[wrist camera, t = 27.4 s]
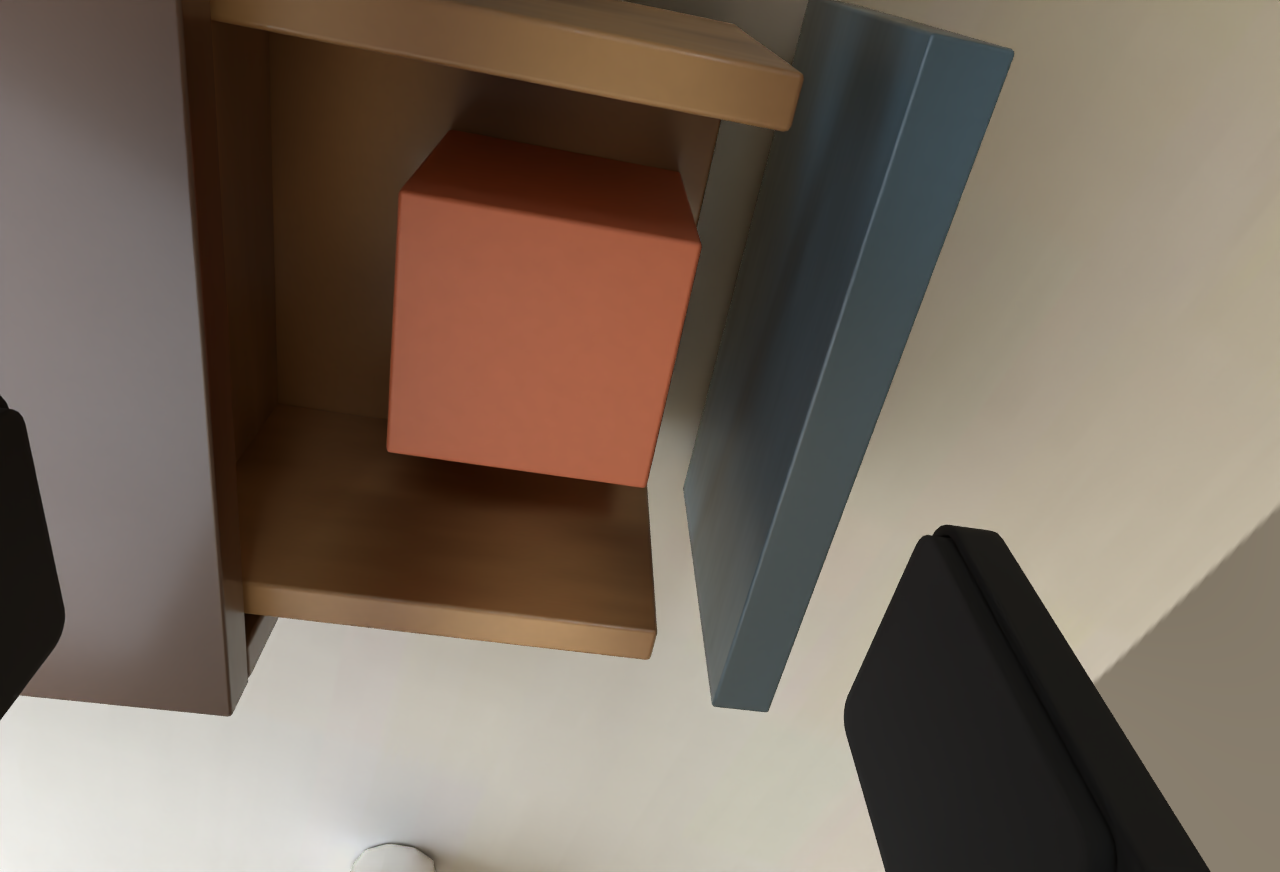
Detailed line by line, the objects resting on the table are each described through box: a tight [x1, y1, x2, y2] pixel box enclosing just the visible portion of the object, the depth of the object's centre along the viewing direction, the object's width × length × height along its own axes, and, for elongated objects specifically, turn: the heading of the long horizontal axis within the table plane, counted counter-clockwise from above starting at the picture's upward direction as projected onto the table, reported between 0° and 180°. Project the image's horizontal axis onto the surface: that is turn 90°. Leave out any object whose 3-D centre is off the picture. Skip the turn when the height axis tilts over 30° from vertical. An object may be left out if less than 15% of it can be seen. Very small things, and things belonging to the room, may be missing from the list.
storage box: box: [210, 0, 1014, 712], centre depth 17 cm, size 14×13×8 cm
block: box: [386, 130, 702, 488], centre depth 17 cm, size 5×5×5 cm
